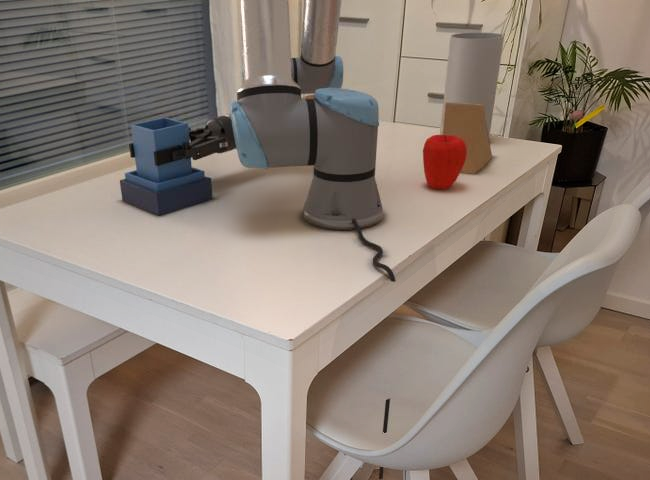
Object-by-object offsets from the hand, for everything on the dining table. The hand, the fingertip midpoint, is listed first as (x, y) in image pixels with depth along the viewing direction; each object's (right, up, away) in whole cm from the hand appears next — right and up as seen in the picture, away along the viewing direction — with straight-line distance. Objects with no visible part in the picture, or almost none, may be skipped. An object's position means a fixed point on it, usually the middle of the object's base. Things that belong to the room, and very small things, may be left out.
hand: (142, 154), depth 136 cm
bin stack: (+4, -7, +8) cm, 12 cm away
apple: (+63, -4, +10) cm, 64 cm away
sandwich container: (+73, +5, +24) cm, 77 cm away
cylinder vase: (+78, +16, +41) cm, 89 cm away
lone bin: (+4, -5, +7) cm, 9 cm away
